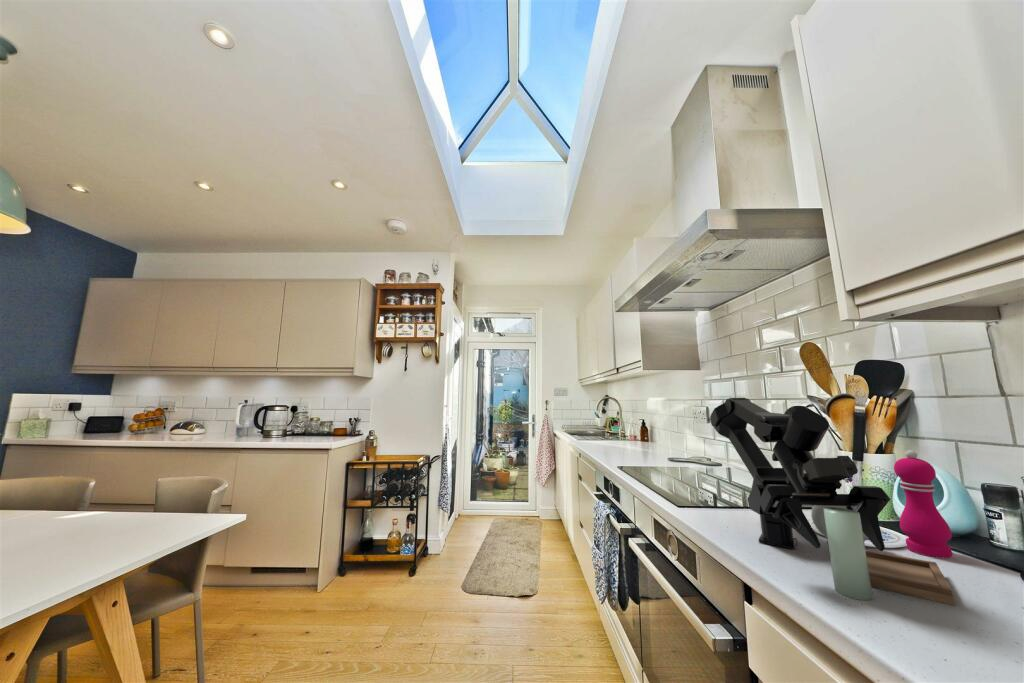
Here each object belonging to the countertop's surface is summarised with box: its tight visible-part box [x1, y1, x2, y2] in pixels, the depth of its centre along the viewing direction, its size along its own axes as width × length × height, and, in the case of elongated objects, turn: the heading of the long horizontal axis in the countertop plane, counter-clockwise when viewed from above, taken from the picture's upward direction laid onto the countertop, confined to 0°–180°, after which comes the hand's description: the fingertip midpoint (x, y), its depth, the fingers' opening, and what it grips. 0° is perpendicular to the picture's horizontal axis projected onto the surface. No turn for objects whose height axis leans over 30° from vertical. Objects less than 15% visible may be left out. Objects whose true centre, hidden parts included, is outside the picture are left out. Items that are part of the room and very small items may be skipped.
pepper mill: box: [893, 449, 953, 559], centre depth 78 cm, size 7×7×20 cm
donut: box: [810, 505, 869, 542], centre depth 81 cm, size 10×4×10 cm, turn 51°
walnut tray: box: [865, 549, 955, 606], centre depth 66 cm, size 13×13×2 cm
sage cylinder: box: [823, 507, 874, 601], centre depth 62 cm, size 5×5×12 cm
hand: (850, 548), depth 61 cm, fingers open, 9 cm apart
